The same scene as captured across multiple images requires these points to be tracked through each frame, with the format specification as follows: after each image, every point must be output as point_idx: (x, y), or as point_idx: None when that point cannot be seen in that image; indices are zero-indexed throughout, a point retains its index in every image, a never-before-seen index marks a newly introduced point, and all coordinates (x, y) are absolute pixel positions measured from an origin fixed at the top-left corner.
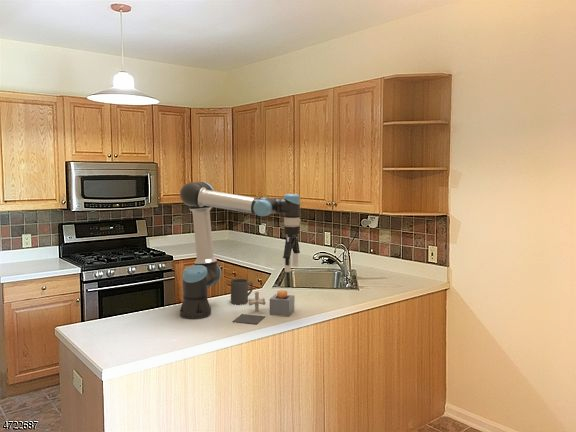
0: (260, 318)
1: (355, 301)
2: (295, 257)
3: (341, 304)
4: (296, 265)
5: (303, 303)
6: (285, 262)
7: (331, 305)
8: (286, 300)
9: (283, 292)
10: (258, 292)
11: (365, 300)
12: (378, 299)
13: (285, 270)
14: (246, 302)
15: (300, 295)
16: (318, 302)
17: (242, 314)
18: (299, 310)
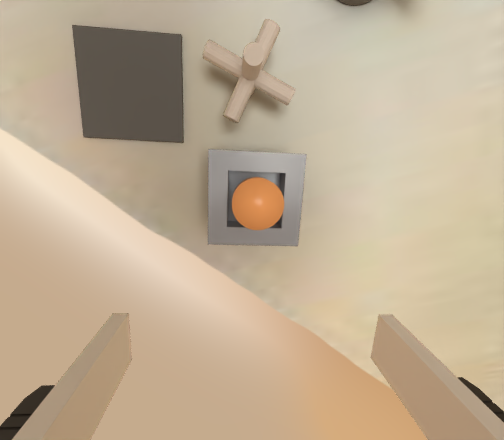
0: (148, 133)
1: None
2: (441, 425)
3: None
4: (378, 355)
5: (380, 237)
6: (46, 406)
7: (369, 325)
8: (208, 232)
9: (244, 215)
10: (252, 66)
11: None
12: None
13: (105, 328)
14: (346, 1)
15: (485, 203)
16: (399, 281)
17: (174, 40)
18: None
